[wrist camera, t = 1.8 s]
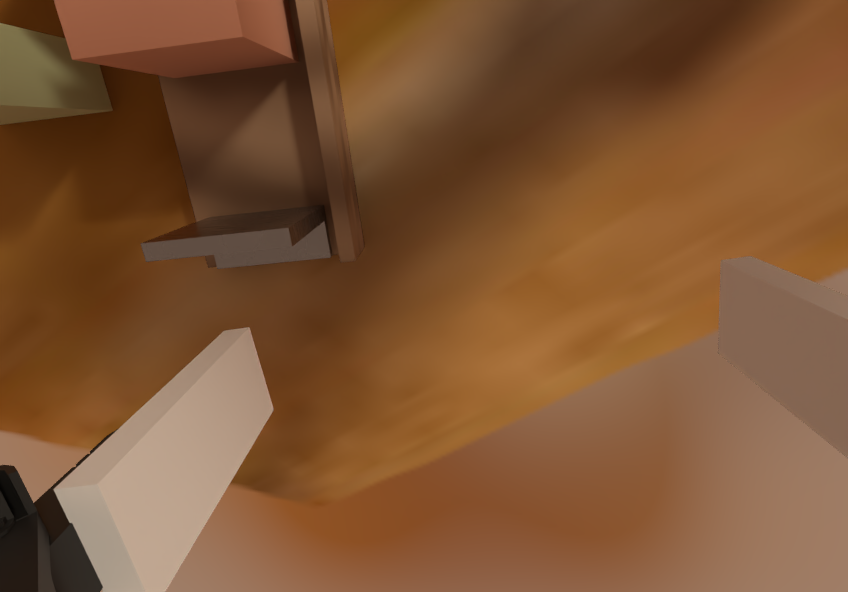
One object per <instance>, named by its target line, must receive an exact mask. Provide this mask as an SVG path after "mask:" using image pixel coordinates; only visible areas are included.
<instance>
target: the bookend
mask: <svg viewBox="0 0 848 592" xmlns="http://www.w3.org/2000/svg"><path fill="white" fill-rule="evenodd" d="M141 247H142V250H143V253H144V256H145V260H146V262H149V261H159V260H168V259H178V258H188V257H197V256H207V255H214V257H215V261H216V265H217V269H222V268H232V267H242V266H251V265H261V264H271V263H281V262H291V261H301V260H311V259H321V258H331V257H332V256H333V254H332V249H331V243H330V237H329V232H328V226H327V220H326V215H325V209H324V205H317V206H308V207H298V208H289V209H280V210H271V211H262V212H252V213H243V214H234V215H225V216H216V217H208V218H205V219H203V220H200V221H198V222H195V223H193V224H190V225H187V226H185V227H182V228H180V229H177V230H174V231H172V232H169V233H167V234H164V235H161V236H159V237H156V238H154V239H151V240H148V241H146V242H143V243H141Z"/></svg>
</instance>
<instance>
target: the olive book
mask: <svg viewBox="0 0 848 592" xmlns="http://www.w3.org/2000/svg"><path fill="white" fill-rule="evenodd" d="M107 111H113V109H112V106H111V102H110V99H109V96H108V92H107V89H106V85H105V82H104V79H103V75H102V72H101V68H100V65H99V64H93V63H88V62H82V61H77V60H72V58H71V54H70V51H69V48H68V45H67V41H66V38H62V37H58V36H53V35H49V34H45V33H41V32H36V31H32V30H28V29H24V28H19V27H15V26H11V25H7V24H2V23H0V125H4V124H12V123H20V122H28V121H36V120H44V119H52V118H60V117H68V116H75V115H83V114H91V113H99V112H107Z"/></svg>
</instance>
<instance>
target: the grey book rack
mask: <svg viewBox="0 0 848 592" xmlns="http://www.w3.org/2000/svg"><path fill="white" fill-rule="evenodd" d="M288 2H289V7H290V13H291V19H292V25H293V30H294V36H295V42H296V47H297V53H298V59H299V62H296V63H288V64H281V65H273V66H265V67H257V68H250V69H242V70H234V71H227V72H219V73H211V74H204V75H196V76H188V77H180V78H170V77H165V76H159V75H158V78H159V81H160V85H161V89H162V93H163V97H164V101H165V104H166V108H167V112H168V116H169V120H170V124H171V127H172V131H173V135H174V139H175V143H176V146H177V150H178V154H179V158H180V162H181V166H182V169H183V173H184V177H185V181H186V185H187V189H188V192H189V196H190V200H191V204H192V208H193V212H194V215H195V219H196V222H198V221H200V220H203V219H205V218H208V217H216V216H225V215H234V214H243V213H252V212H262V211H271V210H280V209H289V208H298V207H308V206H317V205H324V209H325V215H326V220H327V226H328V232H329V237H330V243H331V249H332V254H333V255H338V254H339V258H340V263H341V262H351V261H356V260H357V258H358V256H359V255H360V253H361V252H362V250H363V249H364V247H365V246H364V240H363V233H362V227H361V220H360V214H359V207H358V201H357V194H356V188H355V181H354V175H353V168H352V162H351V155H350V149H349V142H348V136H347V129H346V123H345V116H344V110H343V103H342V97H341V90H340V84H339V77H338V71H337V64H336V58H335V51H334V45H333V38H332V32H331V25H330V19H329V12H328V6H327V0H288ZM205 257H206V261H207V265H208V268H209V267H217V265H216V261H215V257H214V255H207V256H205Z"/></svg>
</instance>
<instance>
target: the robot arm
mask: <svg viewBox="0 0 848 592" xmlns="http://www.w3.org/2000/svg"><path fill="white" fill-rule="evenodd" d="M718 354H719V355H721V356H722V357H723V358H724V359H726V360H727V361H728V362H729V363H730V364H732V365H733V366H734V367H735V368H737V369H738V370H739V371H740V372H742V373H743V374H744V375H745V376H747V377H748V378H749V379H750V380H752V381H753V382H754V383H755V384H756V385H758V386H759V387H760V388H761V389H763V390H764V391H765V392H766V393H768V394H769V395H770V396H771V397H773V398H774V399H775V400H776V401H778V402H779V403H780V404H781V405H782V406H784V407H785V408H786V409H787V410H789V411H790V412H791V413H792V414H794V415H795V416H796V417H798V418H799V419H800V420H801V421H803V423H805V424H806V425H807V426H809V427H810V428H811V429H812V430H814V431H815V432H816V433H817V434H818V435H820V436H821V437H822V438H823V439H825V440H826V441H827V442H828V443H829V444H831V445H832V446H833V447H835V448H836V449H837V450H838V451H840V452H841V453H842V454H843V455H844V456H846V457H847V458H848V296H847V295H844V294H842V293H840V292H837V291H835V290H832V289H830V288H827V287H825V286H822V285H820V284H818V283H815V282H813V281H810V280H808V279H805V278H803V277H800V276H798V275H796V274H793V273H791V272H788V271H786V270H783V269H781V268H778V267H776V266H774V265H771V264H769V263H766V262H764V261H761V260H759V259H756V258H754V257H752V256H748V257H741V258H734V259H727V260H721V270H720V303H719V337H718ZM273 410H274V409H273V405H272V402H271V399H270V395H269V392H268V388H267V385H266V382H265V378H264V375H263V371H262V368H261V365H260V361H259V358H258V354H257V351H256V348H255V344H254V341H253V338H252V334H251V331H250V327H247V328H240V329H232V330H225V331H223V332H222V333H221V334H220V335H219V336H218V337H217V338H216V339H215V340H214V341H212V342H211V343H210V344H209V345H208V346H207V347H206V348H205V349H204V350H203V351H202V352H201V353H200V354H198V355H197V356H196V357H195V358H194V359H193V360H192V361H191V362H190V363H189V364H188V365H187V366H186V367H184V368H183V369H182V370H181V371H180V372H179V373H178V374H177V375H176V376H175V377H174V378H173V379H172V380H171V381H169V382H168V383H167V384H166V385H165V386H164V387H163V388H162V389H161V390H160V391H159V392H158V393H157V394H155V395H154V396H153V397H152V398H151V399H150V400H149V401H148V402H147V403H146V404H145V405H144V406H143V407H141V408H140V409H139V410H138V411H137V412H136V413H135V414H134V415H133V416H132V417H131V418H130V419H129V420H127V421H126V422H125V423H124V424H123V425H122V426H121V427H120V428H119V429H117V430H116V431H114V432H113V433H111V434H109V435H108V436H106V437H105V438H104V439H103V440H102V441H101V442H100V443H99V444H98V445H97V446H95V447H94V448H93V449H92V450H91V451H90V454H87V455H86V456H85V457H84V458H83V459H81V460H80V461H79V462H78V463H77V464H76V467H73V468H71V469H70V470H69V471H68V472H67V473H66V474H65V475H64V476H63V477H62V478H61V479H60V480H58V481H57V482H56V483H55V484H54V485H53V486H52V487H51V488H50V489H49V490H48V491H47V492H45V493H44V494H43V495H42V496H41V497H40V498H39V499H38V500H37V501H36V502H34V503H33V501H32V499H31V497H30V495H29V493H28V491H27V489H26V487H25V485H24V483H23V482H22V479H21V478H20V475H19V473H18V471H17V470H16V468H15V467H14V466H9V465H1V466H0V592H100V591H101V590H102V591H103V592H166V590H167V588H168V586H169V585H170V583H171V581H172V580H173V578H174V576H175V575H176V573H177V571H178V570H179V568H180V566H181V565H182V563H183V561H184V560H185V558H186V556H187V554H188V553H189V551H190V549H191V548H192V546H193V545H194V543H195V541H196V540H197V538H198V536H199V534H200V533H201V531H202V529H203V528H204V526H205V524H206V523H207V521H208V519H209V518H210V516H211V514H212V513H213V511H214V509H215V508H216V506H217V504H218V503H219V501H220V499H221V498H222V496H223V494H224V492H225V491H226V489H227V487H228V486H229V484H230V482H231V481H232V479H233V477H234V476H235V474H236V472H237V471H238V469H239V467H240V466H241V464H242V462H243V461H244V459H245V457H246V456H247V454H248V452H249V451H250V449H251V447H252V445H253V444H254V442H255V440H256V439H257V437H258V435H259V434H260V432H261V430H262V429H263V427H264V425H265V424H266V422H267V420H268V419H269V417H270V415H271V414H272V412H273Z"/></svg>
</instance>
